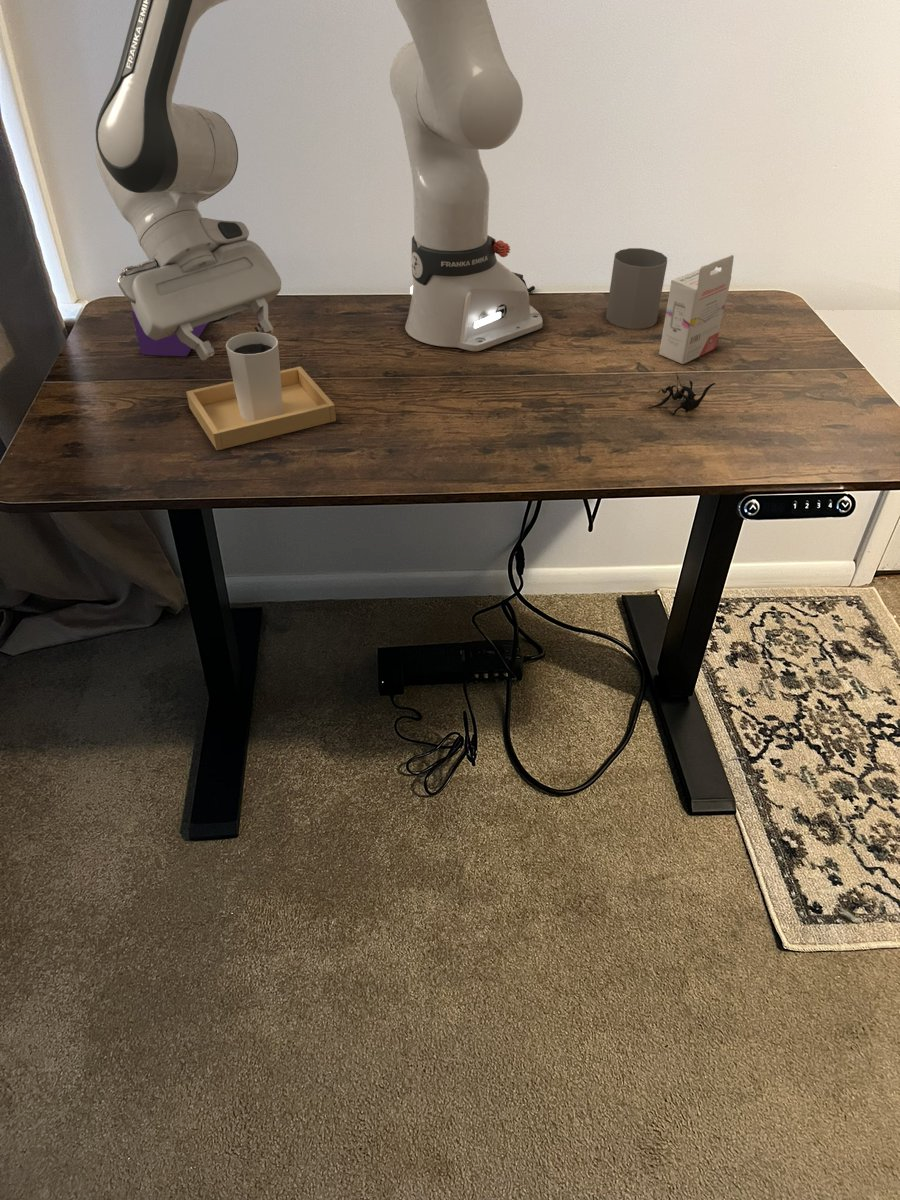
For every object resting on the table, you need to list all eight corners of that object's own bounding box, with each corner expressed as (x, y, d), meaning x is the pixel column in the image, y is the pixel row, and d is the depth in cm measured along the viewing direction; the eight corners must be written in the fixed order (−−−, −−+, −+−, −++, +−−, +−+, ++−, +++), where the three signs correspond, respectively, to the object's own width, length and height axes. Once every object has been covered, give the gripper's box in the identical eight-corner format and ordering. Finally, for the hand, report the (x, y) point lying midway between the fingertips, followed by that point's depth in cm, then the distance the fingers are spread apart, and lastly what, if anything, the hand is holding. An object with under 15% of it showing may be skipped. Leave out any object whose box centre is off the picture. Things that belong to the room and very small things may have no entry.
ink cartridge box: (690, 339, 138) (709, 245, 128) (715, 349, 135) (738, 254, 125) (656, 354, 134) (674, 258, 124) (682, 365, 131) (702, 268, 121)
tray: (302, 381, 125) (300, 365, 124) (336, 420, 117) (334, 404, 115) (189, 407, 119) (185, 391, 117) (216, 450, 111) (213, 434, 109)
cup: (620, 303, 148) (629, 244, 141) (664, 316, 144) (676, 255, 138) (597, 320, 143) (605, 259, 136) (642, 333, 139) (652, 271, 132)
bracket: (186, 356, 131) (177, 312, 126) (141, 354, 131) (131, 310, 126) (207, 323, 139) (200, 281, 135) (166, 321, 140) (157, 279, 135)
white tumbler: (245, 398, 121) (235, 330, 114) (292, 402, 120) (284, 334, 113) (230, 422, 116) (218, 352, 109) (278, 426, 115) (269, 356, 108)
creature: (637, 410, 123) (673, 424, 116) (637, 372, 120) (675, 385, 114) (680, 398, 125) (719, 411, 119) (682, 361, 123) (721, 373, 116)
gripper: (116, 258, 104) (177, 360, 105) (254, 219, 115) (308, 312, 116) (105, 284, 109) (164, 381, 110) (239, 245, 120) (290, 333, 122)
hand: (239, 346), depth 114 cm, fingers open, 8 cm apart
